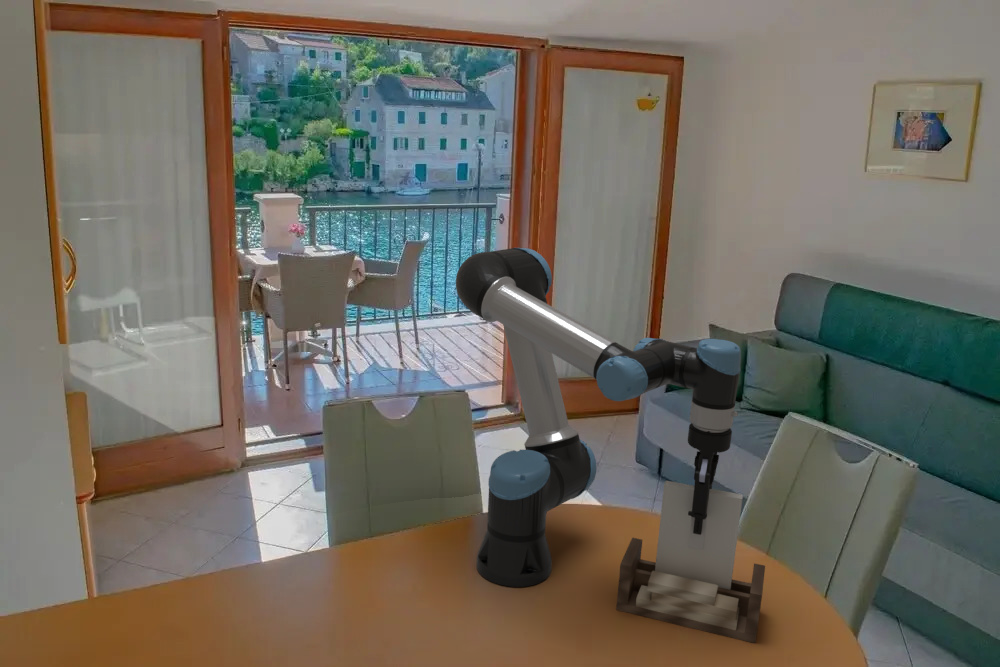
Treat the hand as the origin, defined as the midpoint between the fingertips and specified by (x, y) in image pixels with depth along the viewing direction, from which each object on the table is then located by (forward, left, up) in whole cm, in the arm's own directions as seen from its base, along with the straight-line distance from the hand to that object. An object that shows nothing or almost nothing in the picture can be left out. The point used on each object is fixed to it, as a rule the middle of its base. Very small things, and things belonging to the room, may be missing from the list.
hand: (696, 544), depth 153 cm
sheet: (0, 0, -11) cm, 11 cm away
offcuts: (0, -5, -11) cm, 12 cm away
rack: (0, -3, -12) cm, 13 cm away
